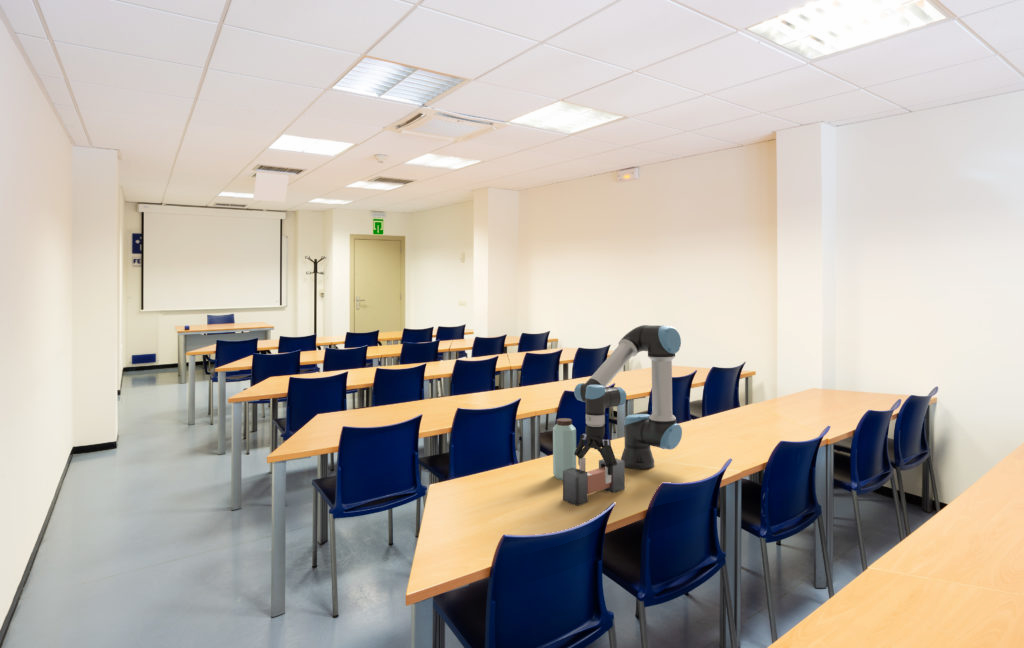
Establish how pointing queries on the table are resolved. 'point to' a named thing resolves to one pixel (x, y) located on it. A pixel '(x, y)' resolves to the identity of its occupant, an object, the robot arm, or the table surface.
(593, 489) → the pink rectangular block
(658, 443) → the robot arm
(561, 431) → the water bottle
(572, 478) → the socket
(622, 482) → the sleeve
